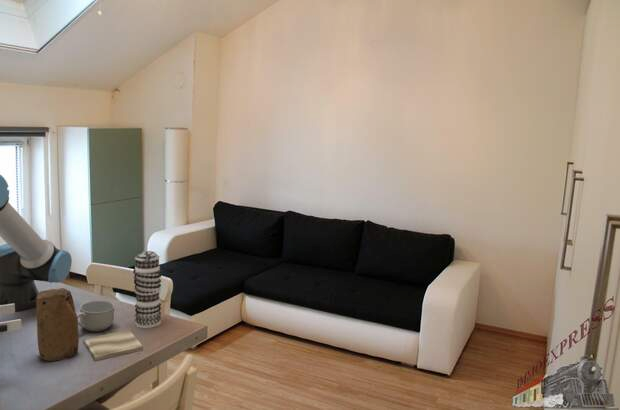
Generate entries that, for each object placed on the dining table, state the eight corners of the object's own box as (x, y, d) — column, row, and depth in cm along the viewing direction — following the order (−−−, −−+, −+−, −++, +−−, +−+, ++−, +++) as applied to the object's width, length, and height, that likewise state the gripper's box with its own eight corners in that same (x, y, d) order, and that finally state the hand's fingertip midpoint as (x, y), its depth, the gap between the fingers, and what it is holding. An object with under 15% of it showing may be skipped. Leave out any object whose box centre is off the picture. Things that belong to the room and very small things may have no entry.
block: (38, 364, 149) (34, 297, 145) (38, 353, 155) (35, 288, 152) (79, 357, 153) (77, 292, 150) (78, 347, 160) (75, 284, 156)
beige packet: (83, 342, 163) (83, 338, 163) (129, 333, 171) (129, 329, 171) (95, 360, 152) (95, 356, 152) (143, 349, 160) (143, 345, 160)
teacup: (104, 318, 182) (103, 297, 180) (121, 327, 175) (120, 305, 174) (64, 330, 171) (63, 307, 170) (81, 340, 164) (80, 316, 163)
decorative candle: (146, 330, 173) (145, 258, 169) (128, 323, 178) (126, 253, 174) (167, 322, 181) (167, 252, 177) (149, 315, 186) (148, 248, 181)
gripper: (-75, 328, 144) (12, 314, 156) (-76, 364, 124) (24, 345, 136) (-78, 302, 143) (11, 290, 155) (-79, 334, 123) (23, 318, 135)
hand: (17, 315), depth 146 cm, fingers open, 13 cm apart
